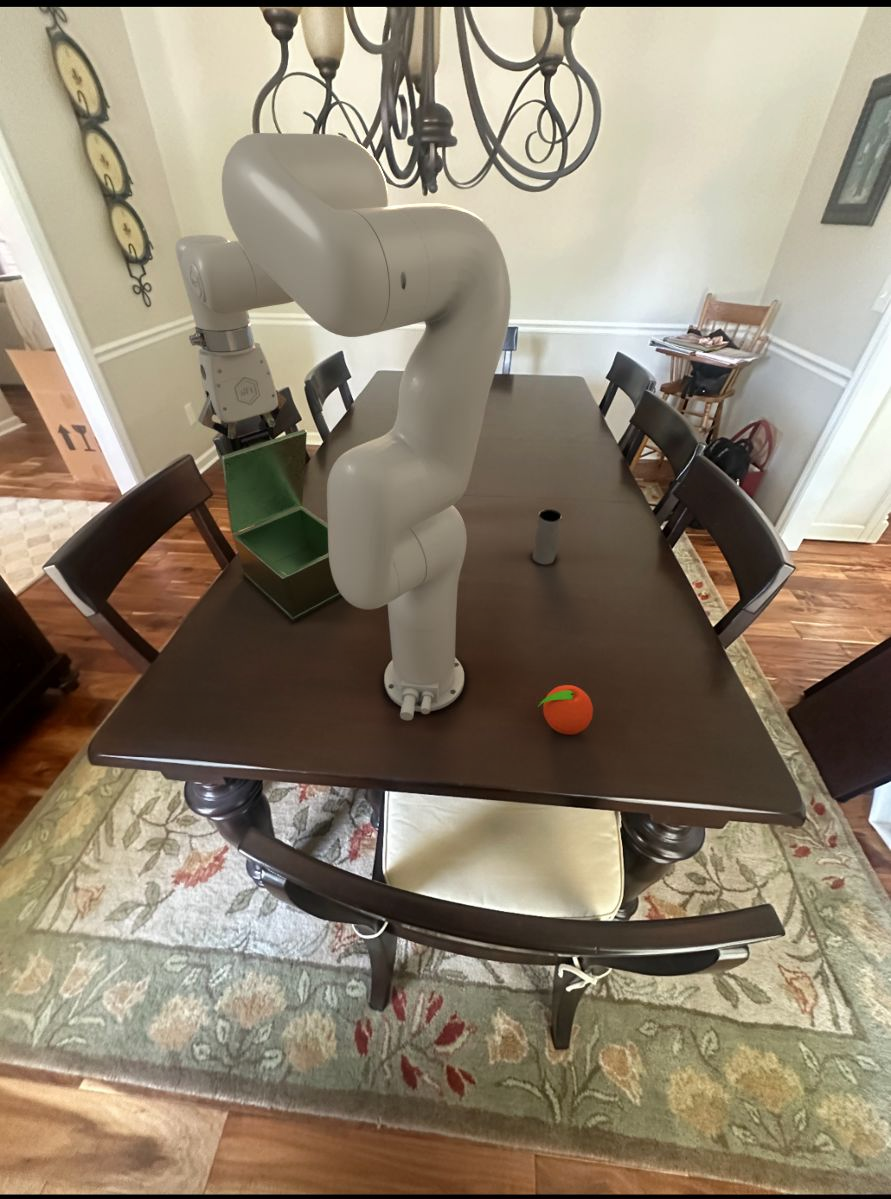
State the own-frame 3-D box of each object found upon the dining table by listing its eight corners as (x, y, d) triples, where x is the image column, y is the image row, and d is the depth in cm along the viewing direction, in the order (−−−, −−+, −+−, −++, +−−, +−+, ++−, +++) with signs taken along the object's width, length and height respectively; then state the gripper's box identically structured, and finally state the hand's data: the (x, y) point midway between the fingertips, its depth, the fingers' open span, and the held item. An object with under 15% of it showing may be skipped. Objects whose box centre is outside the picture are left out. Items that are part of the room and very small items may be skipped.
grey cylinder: (551, 567, 104) (558, 523, 97) (529, 561, 106) (535, 518, 99) (557, 555, 107) (564, 512, 100) (536, 549, 109) (542, 507, 102)
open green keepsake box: (360, 585, 99) (355, 543, 93) (293, 622, 92) (282, 578, 85) (309, 546, 109) (301, 505, 102) (245, 576, 101) (231, 534, 95)
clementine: (538, 746, 73) (545, 716, 68) (528, 706, 78) (534, 676, 73) (594, 742, 73) (604, 712, 69) (580, 703, 78) (589, 672, 74)
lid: (307, 431, 87) (289, 412, 88) (224, 459, 79) (206, 437, 80) (302, 505, 102) (287, 487, 103) (232, 534, 94) (217, 514, 96)
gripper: (180, 355, 70) (217, 476, 82) (290, 333, 79) (309, 445, 91) (158, 342, 74) (196, 460, 86) (265, 322, 83) (286, 431, 95)
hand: (254, 451), depth 88 cm, fingers closed on lid, 5 cm apart
